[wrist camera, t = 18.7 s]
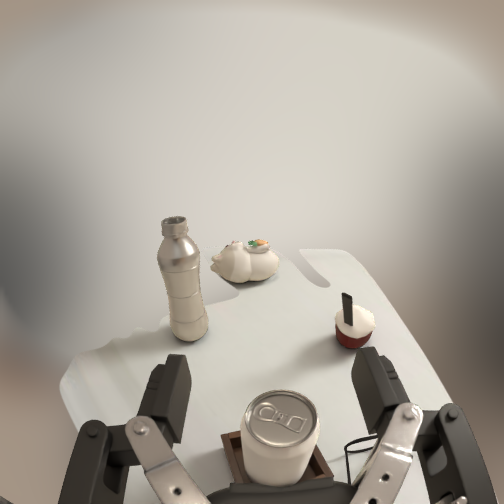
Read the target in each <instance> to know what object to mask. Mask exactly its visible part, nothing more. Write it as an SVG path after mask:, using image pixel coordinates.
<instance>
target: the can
mask: <svg viewBox="0 0 504 504" xmlns="http://www.w3.org/2000/svg"><path fill="white" fill-rule="evenodd" d="M240 431H241V442H242V451H243V458H244V466H245V471H246V474H247V476H248V478H249V479H250V481H251V482H252V483H258V484H263V485H269V486H275V487H287V486H290V485H293V484H296V483H297V482H298V481H299V480H300V478H301V477H302V475H303V473H304V471H305V469H306V467H307V465H308V462H309V460H310V457H311V455H312V453H313V450H314V447H315V445H316V442H317V439H318V436H319V432H320V423H319V419H318V413H317V410H316V408H315V406H314V404H313V403H312V402H311V401H310V400H309V399H308V398H307V397H305V396H304V395H302V394H300V393H297V392H294V391H290V390H273V391H269V392H266V393H263V394H261V395H259V396H258V397H256V398H255V399H254V400H253V401H252V402H251V403H250V404H249V406H248V407H247V409H246V412H245V414H244V416H243V418H242V421H241V427H240Z"/></svg>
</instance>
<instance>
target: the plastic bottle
mask: <svg viewBox="0 0 504 504" xmlns="http://www.w3.org/2000/svg"><path fill="white" fill-rule="evenodd" d="M161 226H162V235H163V236H164V240H163V241H162V243H161V245H160V248H159V250H158V254H157V260H158V265H159V267H160V271H161V273H162V276H163V279H164V282H165V286H166V290H167V294H168V299H169V309H170V326H171V329H172V331H173V333H174V335H175V336H176V337H178V338H179V339H181V340H183V341H195V340H198V339H200V338H201V337H202V336H203V335H204V334H205V333H206V331H207V329H208V316H207V313H206V310H205V308H204V305H203V300H202V296H201V292H200V279H199V267H200V266H199V265H200V252H199V249H198V247H197V245H196V244H195V243H194V241H193V240H192V239H191V238H190V237H189V236H188V235H187V232H188V227H187V220H186V218H185V217H181V216H176V217H169V218H166V219H164V220H163V221H162V222H161Z"/></svg>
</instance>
